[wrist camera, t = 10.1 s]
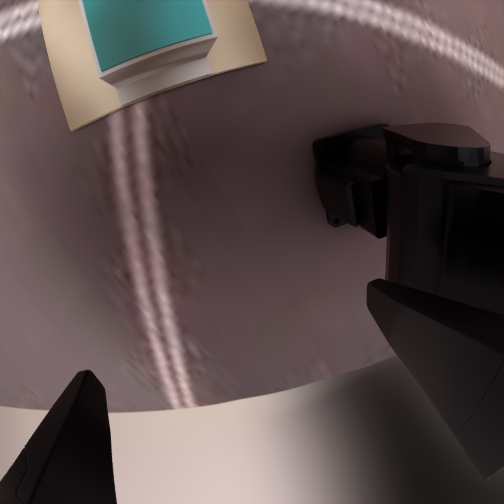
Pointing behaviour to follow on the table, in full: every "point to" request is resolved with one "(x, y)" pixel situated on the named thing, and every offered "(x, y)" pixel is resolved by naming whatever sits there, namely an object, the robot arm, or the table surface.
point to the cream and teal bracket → (141, 49)
